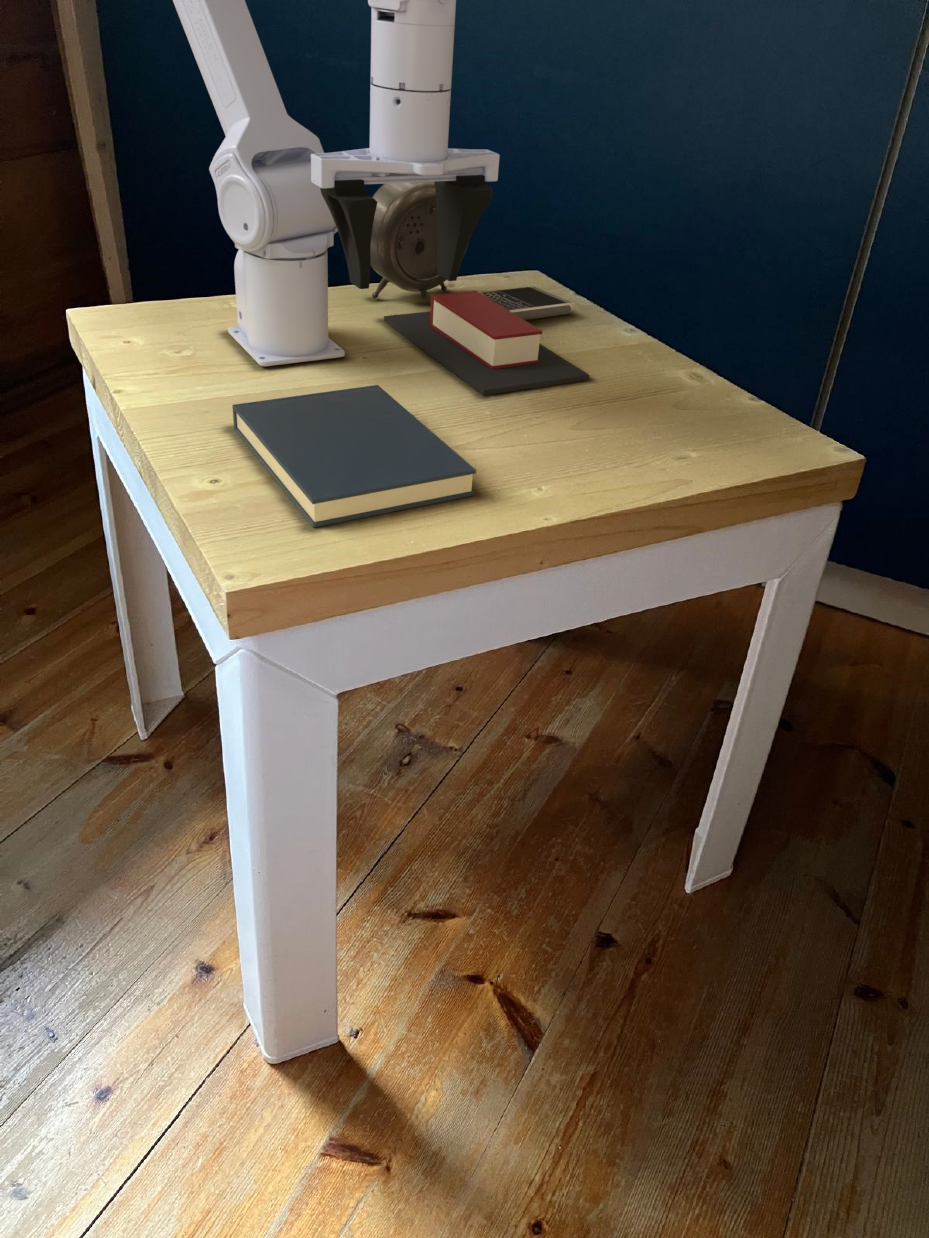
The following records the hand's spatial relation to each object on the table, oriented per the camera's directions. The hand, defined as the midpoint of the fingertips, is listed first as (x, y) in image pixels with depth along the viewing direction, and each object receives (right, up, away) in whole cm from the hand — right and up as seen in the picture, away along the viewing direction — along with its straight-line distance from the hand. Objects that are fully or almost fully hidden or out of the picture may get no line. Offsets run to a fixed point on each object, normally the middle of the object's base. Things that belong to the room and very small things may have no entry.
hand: (404, 281), depth 77 cm
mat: (+6, -1, +16) cm, 17 cm away
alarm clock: (0, +7, +27) cm, 28 cm away
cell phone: (+10, +5, +25) cm, 27 cm away
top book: (+6, -1, +15) cm, 17 cm away
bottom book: (-4, -15, -5) cm, 16 cm away
